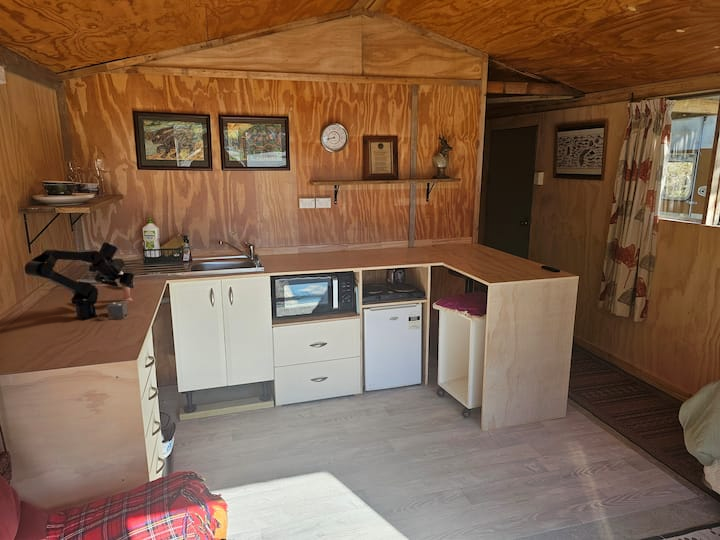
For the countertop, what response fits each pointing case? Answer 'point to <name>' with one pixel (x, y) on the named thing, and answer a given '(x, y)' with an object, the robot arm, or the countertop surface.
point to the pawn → (126, 294)
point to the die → (117, 310)
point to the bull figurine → (122, 274)
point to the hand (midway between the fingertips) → (125, 286)
